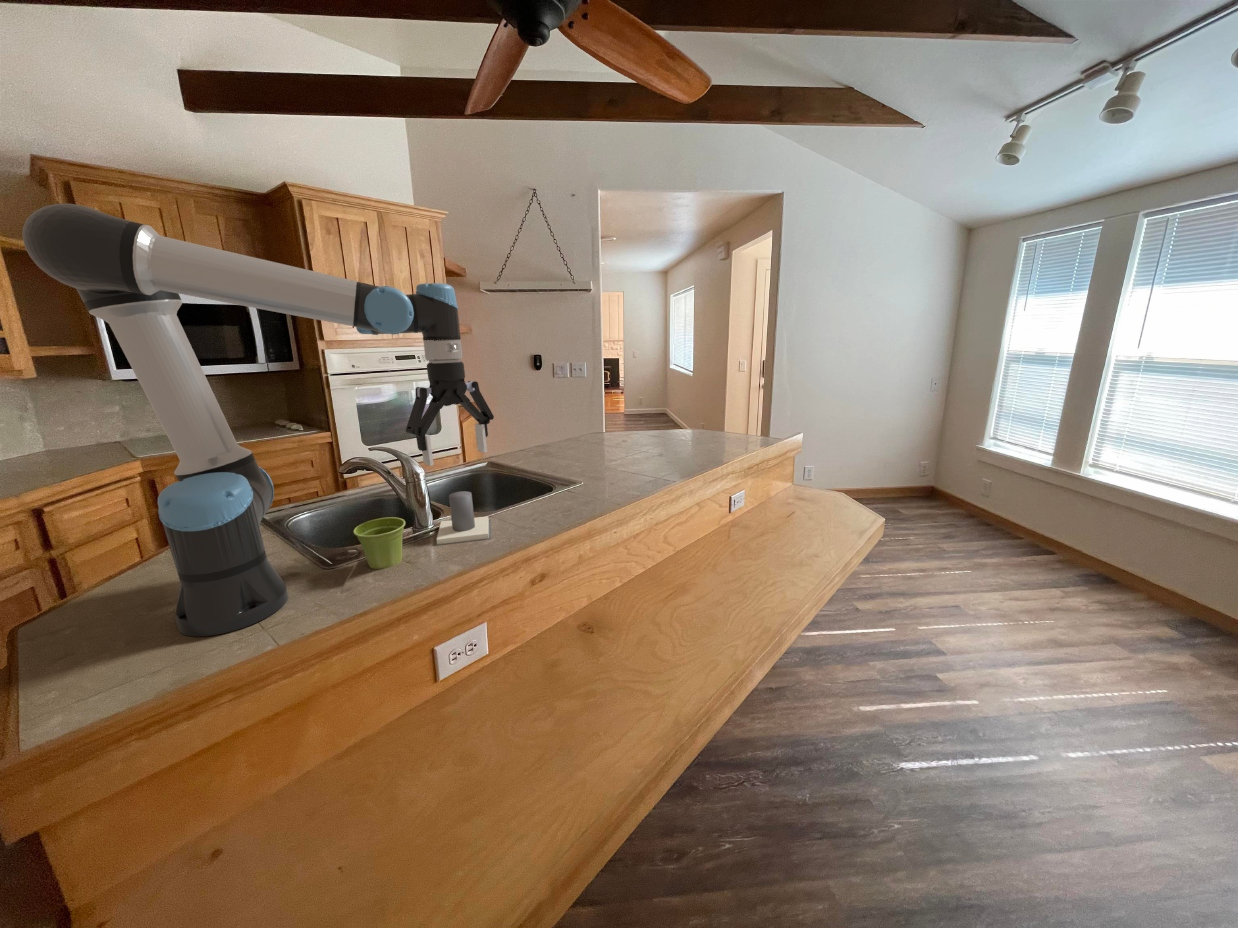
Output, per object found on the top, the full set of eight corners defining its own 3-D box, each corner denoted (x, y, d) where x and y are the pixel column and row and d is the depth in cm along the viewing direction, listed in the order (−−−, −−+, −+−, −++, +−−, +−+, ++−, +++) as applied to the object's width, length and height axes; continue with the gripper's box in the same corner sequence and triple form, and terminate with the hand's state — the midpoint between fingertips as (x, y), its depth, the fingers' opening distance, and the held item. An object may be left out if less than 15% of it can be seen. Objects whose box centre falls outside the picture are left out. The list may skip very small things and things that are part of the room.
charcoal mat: (491, 542, 109) (490, 538, 108) (435, 549, 106) (434, 545, 106) (491, 522, 120) (490, 519, 120) (440, 528, 117) (439, 525, 117)
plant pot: (410, 570, 96) (404, 530, 94) (358, 580, 93) (350, 538, 91) (411, 551, 105) (405, 514, 102) (363, 559, 101) (356, 521, 99)
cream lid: (488, 538, 109) (484, 500, 106) (437, 544, 106) (432, 505, 104) (488, 520, 119) (485, 485, 117) (441, 525, 116) (437, 489, 114)
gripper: (396, 366, 91) (412, 473, 96) (503, 357, 109) (511, 448, 115) (377, 365, 95) (394, 468, 101) (483, 357, 114) (492, 444, 119)
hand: (456, 457), depth 108 cm, fingers open, 13 cm apart
